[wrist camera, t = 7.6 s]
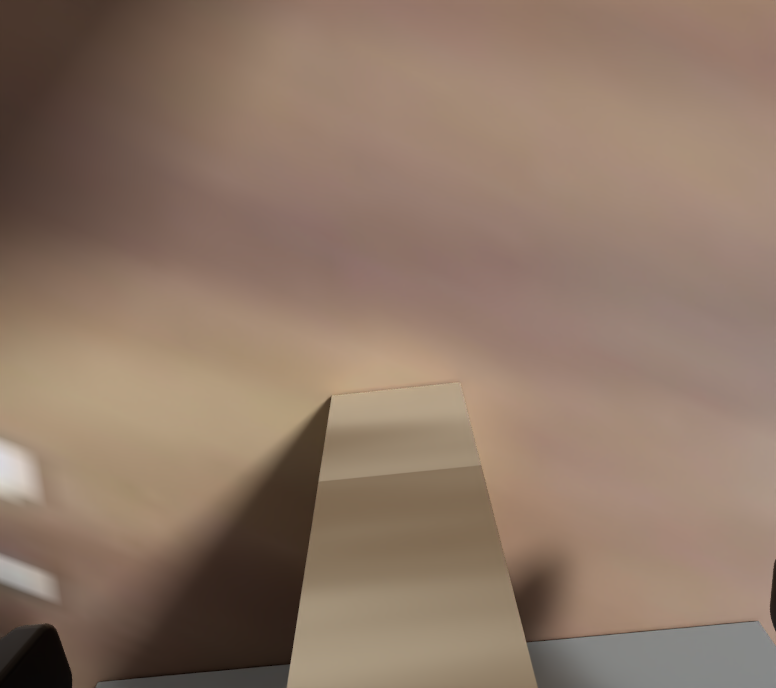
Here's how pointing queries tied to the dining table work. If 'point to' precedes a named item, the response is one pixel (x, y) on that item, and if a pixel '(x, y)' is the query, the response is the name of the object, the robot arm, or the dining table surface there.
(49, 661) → the robot arm
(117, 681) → the gray u-shaped block
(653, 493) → the dining table surface
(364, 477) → the birch plate
